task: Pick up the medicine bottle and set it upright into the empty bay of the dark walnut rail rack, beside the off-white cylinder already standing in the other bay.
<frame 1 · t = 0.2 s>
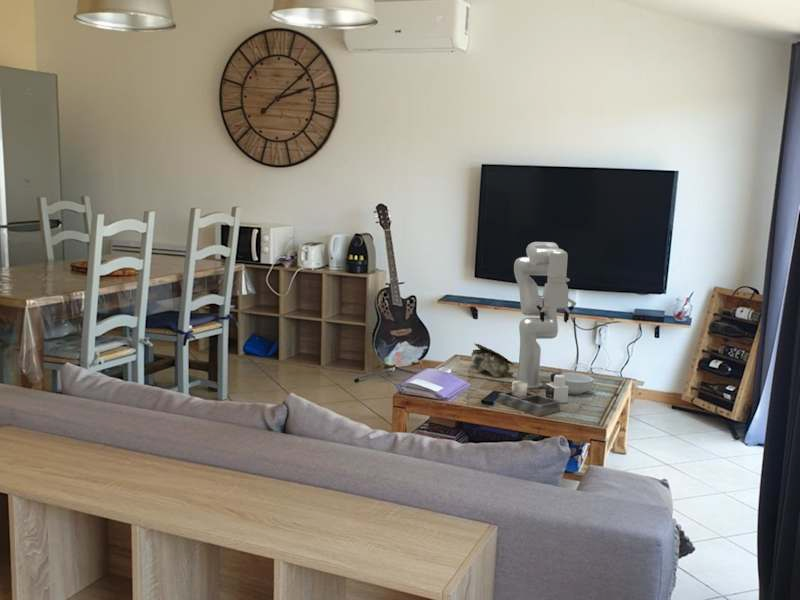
hand: (553, 321, 333), 36 cm above the table, tool pointing down, fingers open, 9 cm apart
cereal bowl: (573, 392, 362), on the table
rail rack: (537, 409, 333), on the table
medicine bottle: (556, 401, 347), on the table
hollow geode rock: (490, 371, 394), on the table
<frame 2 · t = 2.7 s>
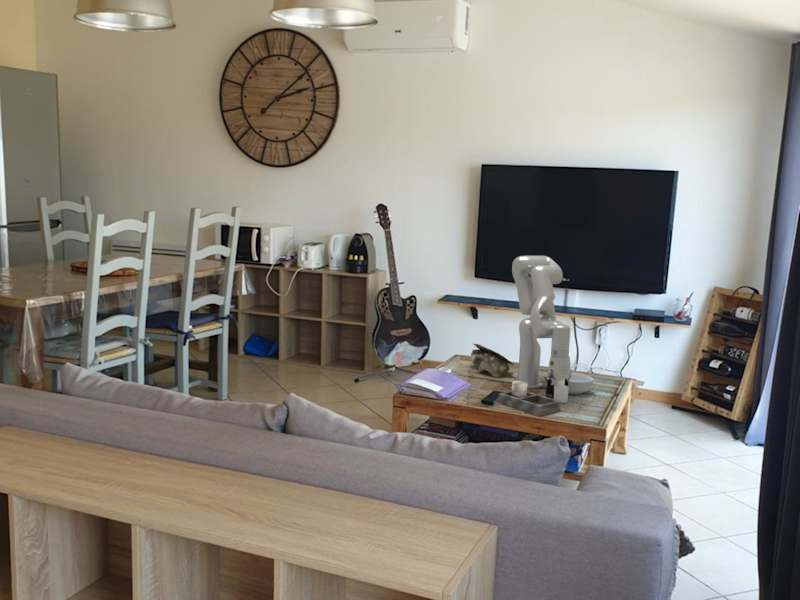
hand: (557, 391, 346), 4 cm above the table, tool pointing down, fingers closed on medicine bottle, 9 cm apart
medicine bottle: (556, 401, 347), on the table, touching gripper
everything else where it was.
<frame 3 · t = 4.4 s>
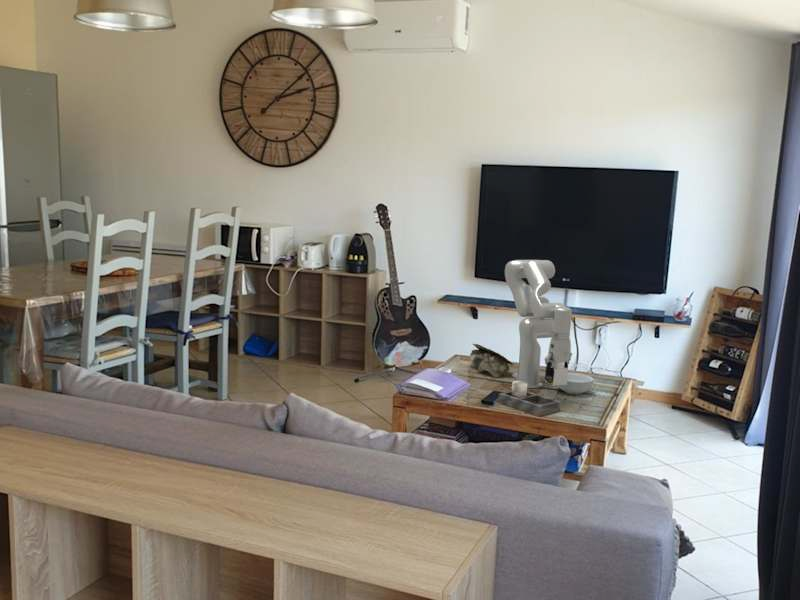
hand: (556, 374, 346), 12 cm above the table, tool pointing down, fingers closed on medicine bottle, 9 cm apart
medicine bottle: (555, 383, 347), point 7 cm above the table, touching gripper
everything else where it was.
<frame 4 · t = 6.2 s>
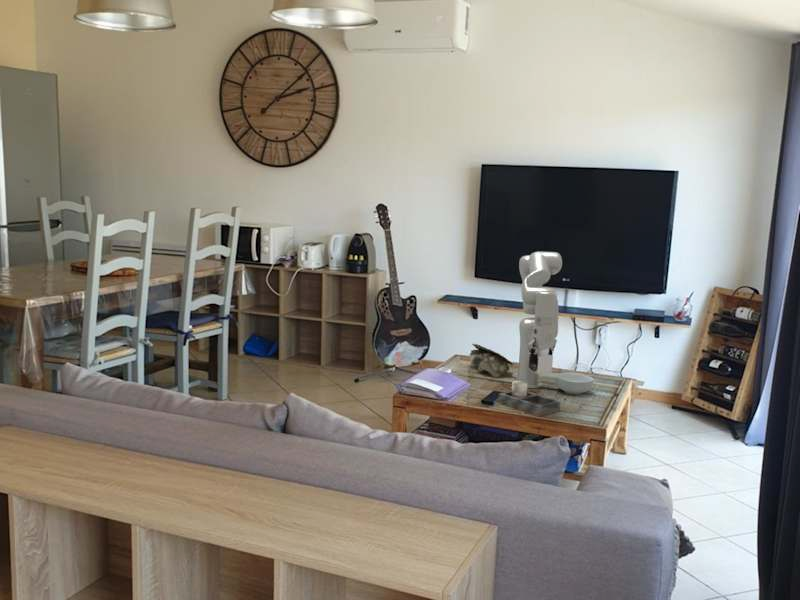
hand: (541, 361, 330), 20 cm above the table, tool pointing down, fingers closed on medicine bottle, 9 cm apart
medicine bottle: (540, 371, 331), point 16 cm above the table, touching gripper
everything else where it was.
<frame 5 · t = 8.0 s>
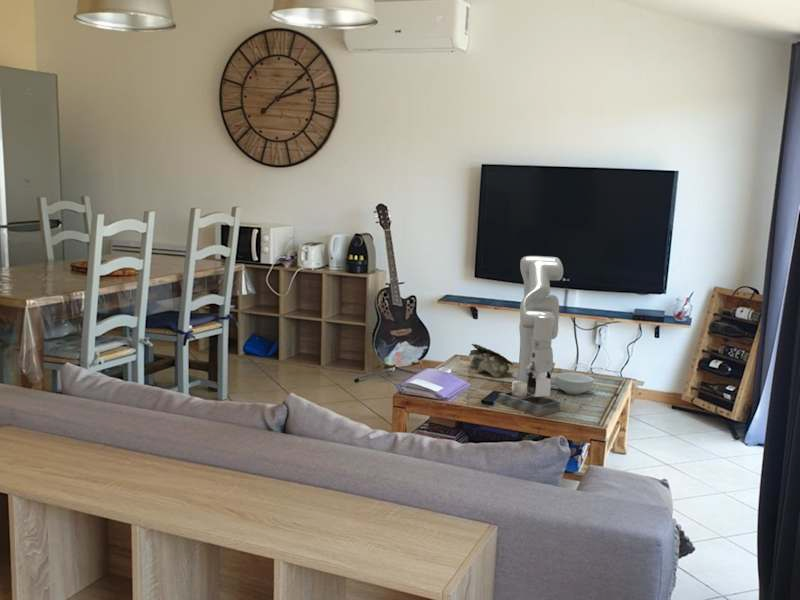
hand: (539, 385, 331), 10 cm above the table, tool pointing down, fingers closed on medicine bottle, 9 cm apart
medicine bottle: (538, 394, 332), point 6 cm above the table, touching gripper
everything else where it was.
when the fingers open (7 cm above the table, at t = 9.5 s): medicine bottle drops 2 cm, resting on rail rack.
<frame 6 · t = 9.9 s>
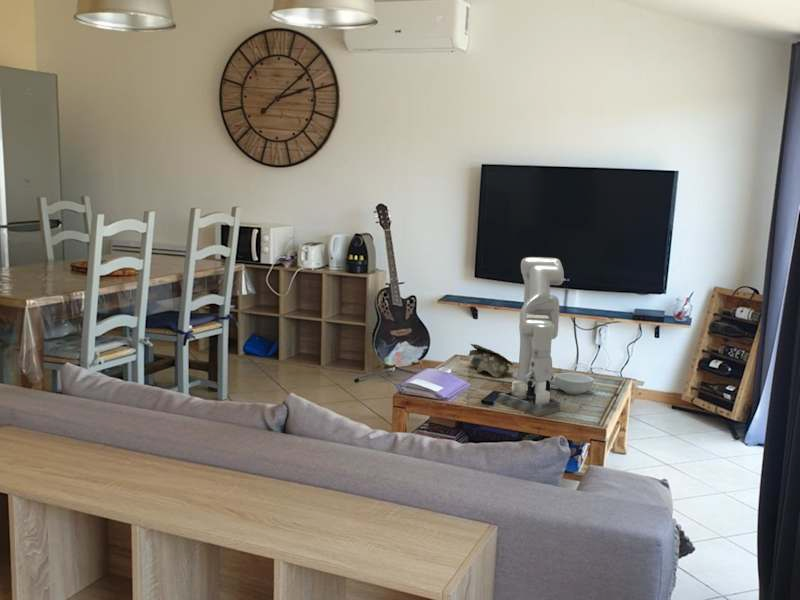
hand: (538, 393, 332), 7 cm above the table, tool pointing down, fingers open, 9 cm apart
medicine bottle: (537, 407, 333), point 1 cm above the table, touching rail rack
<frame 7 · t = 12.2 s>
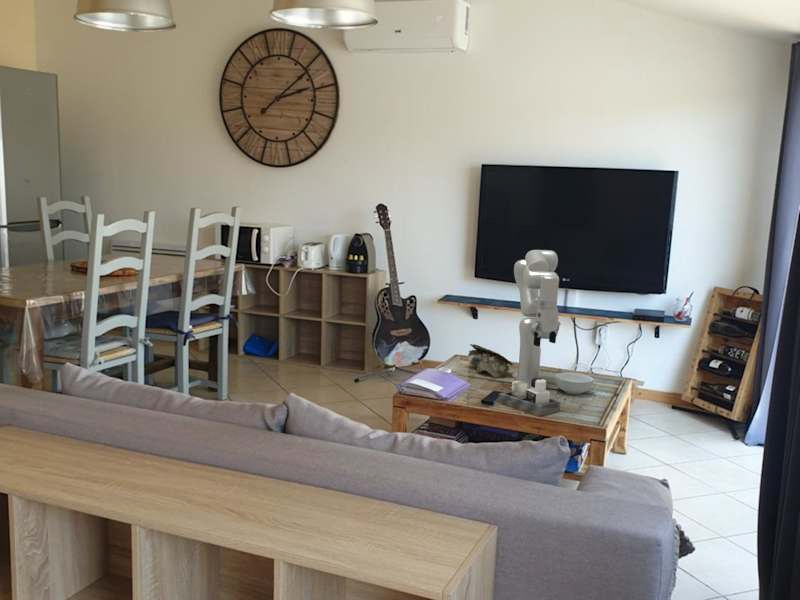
hand: (544, 344, 339), 26 cm above the table, tool pointing down, fingers open, 9 cm apart
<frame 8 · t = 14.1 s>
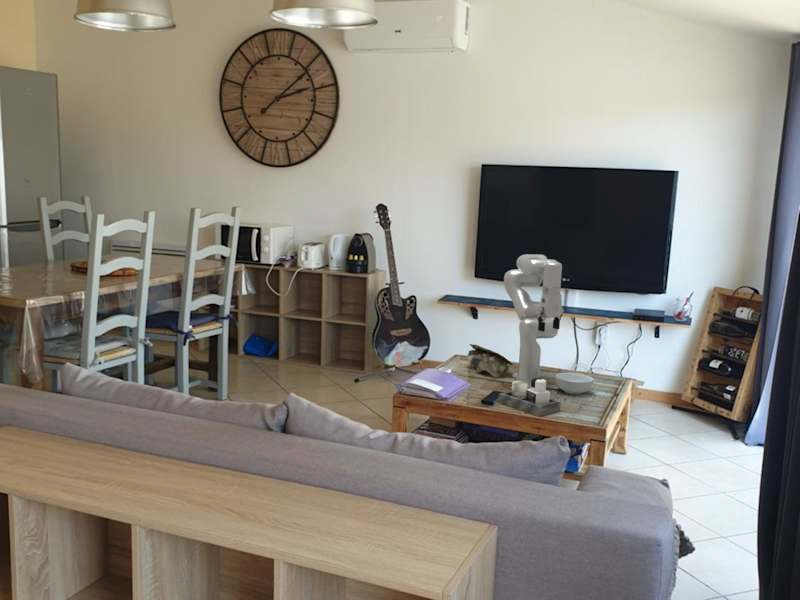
hand: (548, 329, 346), 30 cm above the table, tool pointing down, fingers open, 9 cm apart
at the end: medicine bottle 0.4 cm off-centre on the rail rack, point 0.8 cm above the rail rack's base; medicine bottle tilted 0°; the gripper is holding nothing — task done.
